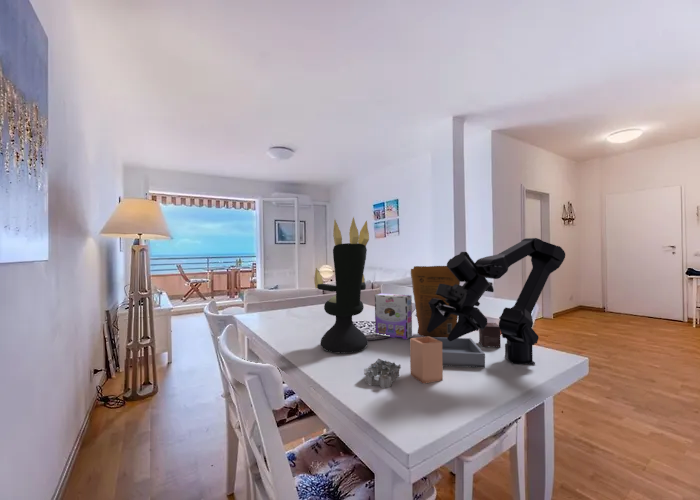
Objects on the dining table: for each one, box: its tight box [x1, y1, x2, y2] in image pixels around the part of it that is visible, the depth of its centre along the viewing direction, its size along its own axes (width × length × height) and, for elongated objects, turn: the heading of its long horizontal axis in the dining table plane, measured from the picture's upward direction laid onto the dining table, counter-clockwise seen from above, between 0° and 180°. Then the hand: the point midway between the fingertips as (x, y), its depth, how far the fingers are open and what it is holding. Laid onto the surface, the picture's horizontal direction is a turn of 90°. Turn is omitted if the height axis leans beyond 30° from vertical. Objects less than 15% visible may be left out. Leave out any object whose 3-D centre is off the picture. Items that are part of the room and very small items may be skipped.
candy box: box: [374, 292, 413, 341], centre depth 124 cm, size 14×6×16 cm, turn 58°
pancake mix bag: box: [410, 265, 461, 338], centre depth 122 cm, size 7×19×28 cm, turn 55°
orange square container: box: [409, 336, 444, 385], centre depth 83 cm, size 6×6×10 cm
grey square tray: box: [432, 337, 486, 369], centre depth 99 cm, size 16×16×4 cm
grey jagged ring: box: [363, 358, 402, 389], centre depth 83 cm, size 11×8×4 cm
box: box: [478, 322, 501, 348], centre depth 112 cm, size 6×6×7 cm
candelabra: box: [313, 216, 370, 354], centre depth 108 cm, size 19×22×45 cm
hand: (437, 335), depth 85 cm, fingers open, 9 cm apart
